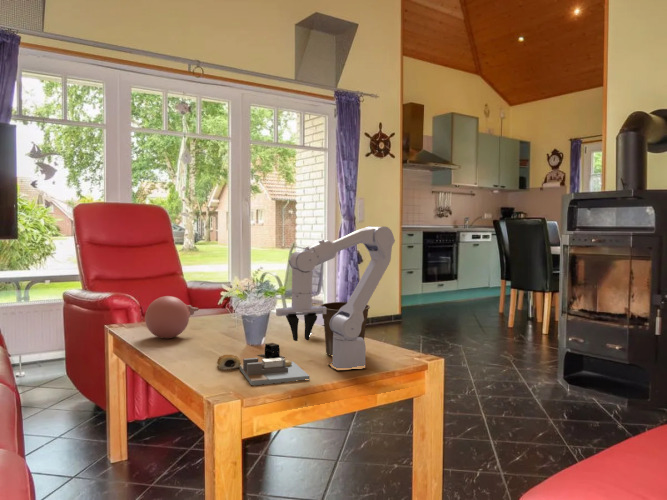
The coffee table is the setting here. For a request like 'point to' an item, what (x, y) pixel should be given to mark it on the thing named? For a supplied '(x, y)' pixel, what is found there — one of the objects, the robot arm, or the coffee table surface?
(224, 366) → the pastry
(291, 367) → the door board
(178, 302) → the balloon
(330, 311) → the plant pot
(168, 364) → the coffee table surface
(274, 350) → the black block
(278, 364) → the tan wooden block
